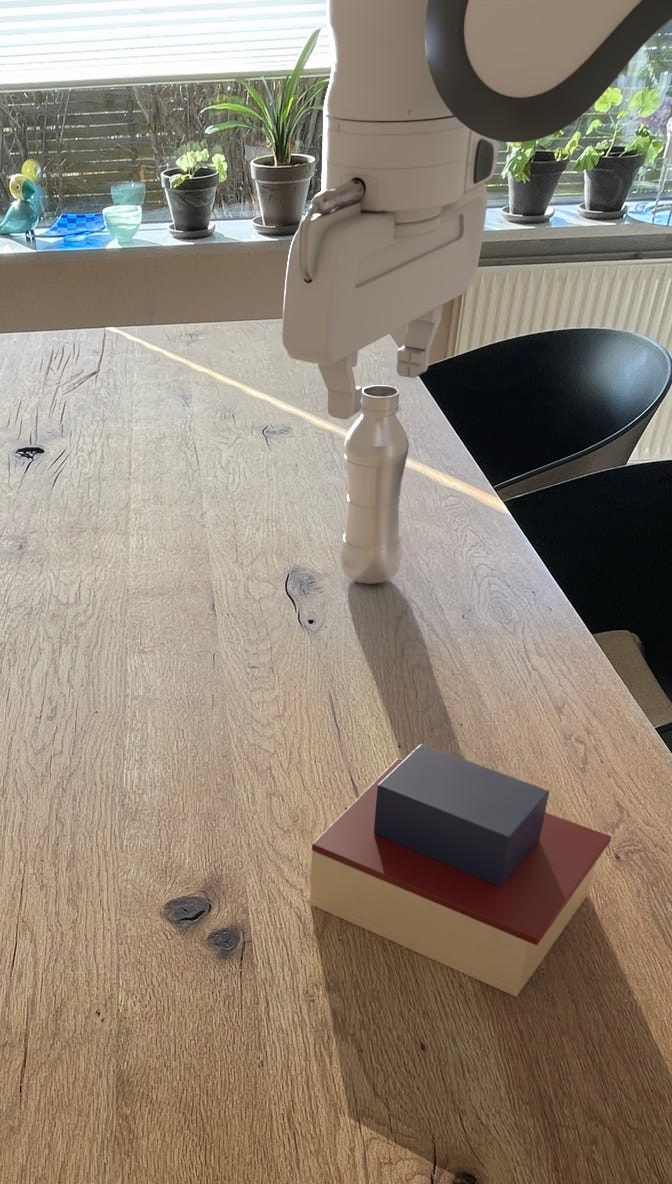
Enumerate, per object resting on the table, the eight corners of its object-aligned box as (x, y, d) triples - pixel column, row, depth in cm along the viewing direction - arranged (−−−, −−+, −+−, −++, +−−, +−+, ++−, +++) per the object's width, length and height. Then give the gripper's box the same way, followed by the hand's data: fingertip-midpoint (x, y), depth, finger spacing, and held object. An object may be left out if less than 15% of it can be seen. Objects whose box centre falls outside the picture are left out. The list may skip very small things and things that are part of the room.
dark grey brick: (539, 839, 81) (549, 790, 78) (500, 887, 77) (509, 837, 74) (415, 790, 86) (421, 742, 83) (373, 833, 82) (377, 785, 79)
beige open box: (588, 894, 85) (601, 839, 81) (516, 997, 77) (528, 942, 74) (392, 817, 93) (396, 764, 89) (309, 904, 85) (311, 850, 82)
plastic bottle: (385, 596, 121) (399, 406, 108) (328, 583, 124) (335, 396, 111) (409, 571, 125) (425, 385, 112) (353, 559, 128) (363, 376, 115)
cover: (610, 842, 81) (611, 836, 81) (536, 946, 74) (538, 939, 73) (396, 764, 89) (397, 758, 89) (311, 850, 82) (311, 844, 81)
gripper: (351, 204, 63) (340, 451, 72) (511, 142, 75) (484, 360, 84) (257, 194, 66) (258, 433, 75) (424, 136, 78) (408, 347, 87)
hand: (379, 394), depth 79 cm, fingers open, 8 cm apart
